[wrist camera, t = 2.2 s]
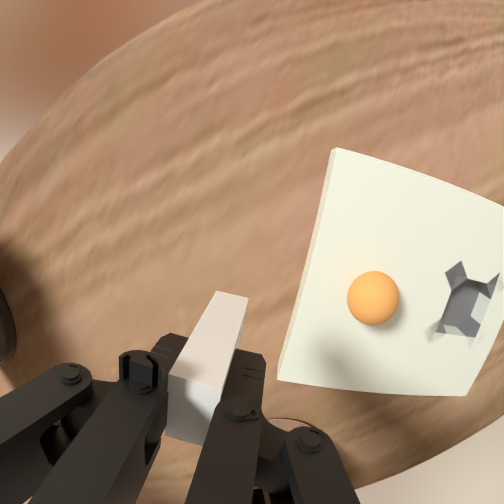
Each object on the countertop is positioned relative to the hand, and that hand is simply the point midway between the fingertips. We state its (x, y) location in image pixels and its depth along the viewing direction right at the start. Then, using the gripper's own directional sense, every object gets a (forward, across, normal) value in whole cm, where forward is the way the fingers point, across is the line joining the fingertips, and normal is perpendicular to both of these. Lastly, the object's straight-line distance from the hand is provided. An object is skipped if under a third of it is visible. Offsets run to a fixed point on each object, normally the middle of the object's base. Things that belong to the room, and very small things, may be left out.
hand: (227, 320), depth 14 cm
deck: (+13, +15, 0) cm, 20 cm away
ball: (+8, +10, 0) cm, 12 cm away
